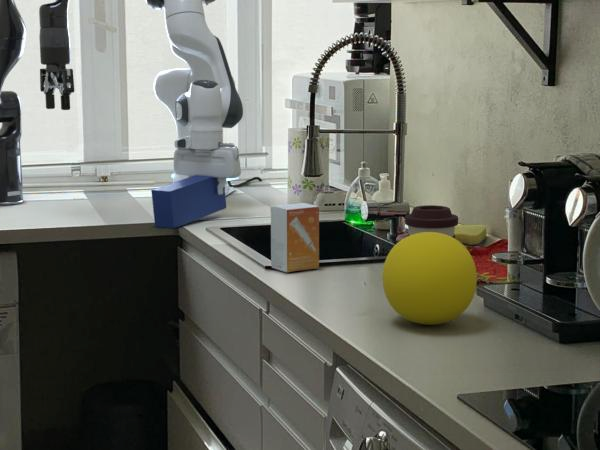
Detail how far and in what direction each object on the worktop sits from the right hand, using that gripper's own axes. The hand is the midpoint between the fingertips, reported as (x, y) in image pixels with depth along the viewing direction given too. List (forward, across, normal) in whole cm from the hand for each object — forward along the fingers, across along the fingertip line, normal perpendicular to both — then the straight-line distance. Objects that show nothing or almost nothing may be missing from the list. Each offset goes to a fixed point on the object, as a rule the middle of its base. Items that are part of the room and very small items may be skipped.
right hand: (207, 193), depth 281 cm
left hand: (-23, +28, +26) cm, 45 cm away
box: (+6, 0, +7) cm, 9 cm away
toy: (+7, -99, +70) cm, 121 cm away
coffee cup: (+7, -88, +46) cm, 99 cm away
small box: (+7, -56, +44) cm, 72 cm away
